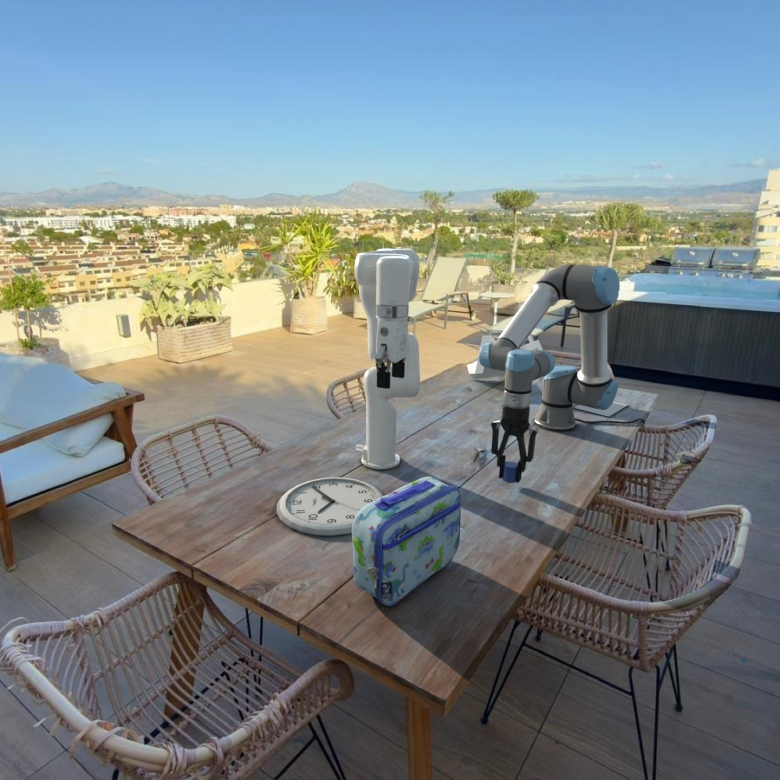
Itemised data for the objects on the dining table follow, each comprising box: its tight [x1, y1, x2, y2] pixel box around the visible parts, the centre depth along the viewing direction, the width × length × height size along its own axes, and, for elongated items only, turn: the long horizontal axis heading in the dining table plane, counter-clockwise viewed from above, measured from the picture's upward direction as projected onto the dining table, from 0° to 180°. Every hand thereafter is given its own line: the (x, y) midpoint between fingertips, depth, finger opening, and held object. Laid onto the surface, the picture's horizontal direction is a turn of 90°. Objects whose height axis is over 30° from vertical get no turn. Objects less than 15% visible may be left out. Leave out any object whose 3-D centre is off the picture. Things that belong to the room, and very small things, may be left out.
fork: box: [473, 440, 487, 463], centre depth 176 cm, size 3×16×2 cm, turn 160°
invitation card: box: [573, 400, 629, 418], centre depth 226 cm, size 21×1×15 cm
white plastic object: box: [466, 308, 544, 392], centre depth 255 cm, size 37×45×31 cm
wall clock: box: [276, 476, 385, 537], centre depth 142 cm, size 30×2×30 cm
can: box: [501, 460, 518, 484], centre depth 155 cm, size 4×4×5 cm
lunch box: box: [351, 476, 462, 607], centre depth 111 cm, size 26×11×21 cm, turn 135°
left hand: (391, 382), depth 126 cm, fingers open, 9 cm apart
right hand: (509, 478), depth 156 cm, fingers closed on can, 4 cm apart
